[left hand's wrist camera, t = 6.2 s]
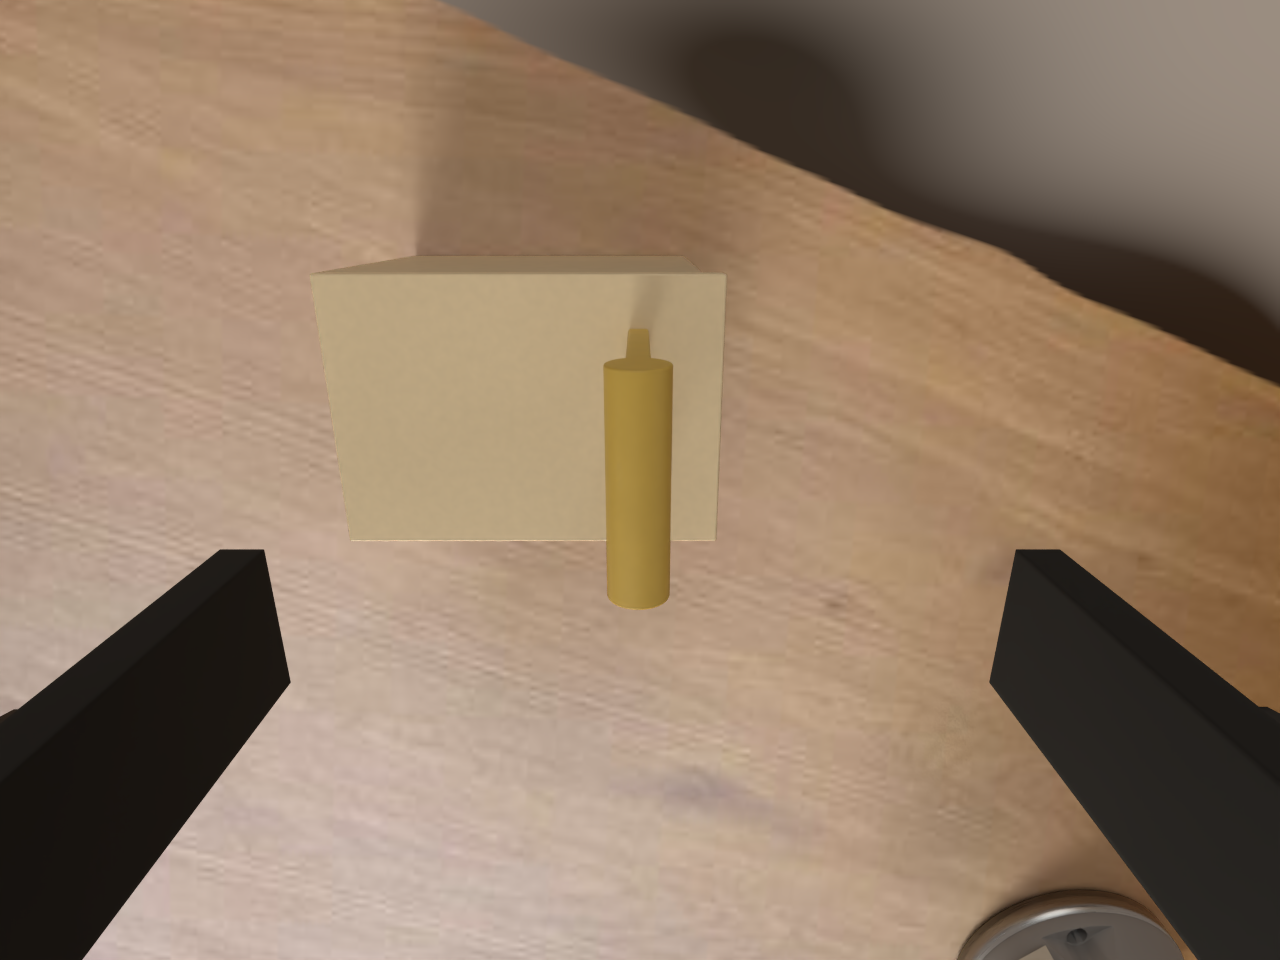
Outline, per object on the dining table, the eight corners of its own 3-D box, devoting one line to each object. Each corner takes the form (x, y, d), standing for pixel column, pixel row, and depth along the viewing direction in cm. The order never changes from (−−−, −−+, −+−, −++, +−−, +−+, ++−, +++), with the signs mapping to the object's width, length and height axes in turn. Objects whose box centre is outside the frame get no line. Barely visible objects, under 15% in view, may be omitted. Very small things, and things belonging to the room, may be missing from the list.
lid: (724, 271, 25) (766, 298, 16) (714, 532, 28) (745, 663, 20) (318, 272, 25) (158, 299, 16) (357, 532, 28) (241, 663, 20)
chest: (684, 255, 35) (703, 272, 25) (680, 446, 38) (695, 532, 28) (414, 255, 35) (319, 271, 25) (434, 446, 38) (357, 532, 28)
